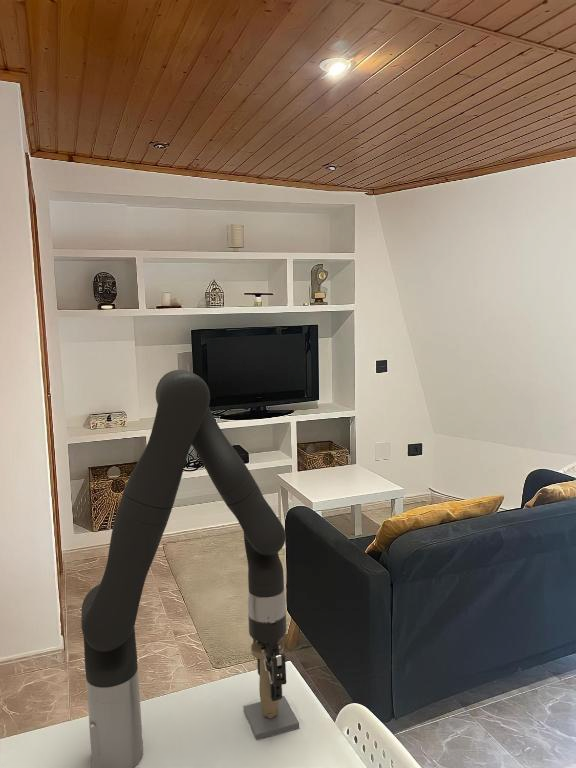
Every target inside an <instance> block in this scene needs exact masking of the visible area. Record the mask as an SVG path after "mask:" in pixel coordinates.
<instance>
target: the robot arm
mask: <svg viewBox="0 0 576 768" xmlns="http://www.w3.org/2000/svg"><path fill="white" fill-rule="evenodd" d="M155 389H156V390H155V400H156V404H157V405H156V406H157V408H156V412H155V417H154V422H153V425H152V429H151V433H150V436H149V438H148V441H147V443H146V446H145V449H144V450H143V452H142V454H141V456H140V457H139V459H138V461H137V463H136V464H135V466H134V467H133V469H132V472H131V474H130V476H129V477H128V480H127V481H126V484H125V486H124V489H123V491H122V494H121V495H122V496H121V497H120V500H119V503H118V507H117V509H116V513H115V517H114V521H113V526H112V530H111V537H110V541H109V548H108V554H107V561H106V564H105V569H104V573H103V575H102V577H101V581H100V583H99V584H97V585H96V586H94V587H93V588H91V589H90V590H89V592H88V593H87V594H86V595H85V597H84V599H83V601H82V605H81V613H80V614H81V617H80V618H81V619H80V622H81V623H80V626H81V631H82V635H83V651H84V671H85V672H84V673H85V680H86V694H87V707H88V727H89V738H90V739H89V741H90V753H91V754H90V755H91V767H92V768H135V767H136V766H138V764H139V763H140V761H141V760H142V758H143V755H144V740H143V728H142V727H143V726H142V710H141V709H142V708H141V695H140V681H139V669H138V668H139V667H138V651H137V641H136V640H137V639H136V632H135V631H136V630H135V628H136V627H135V625H136V621H137V617H138V611H139V608H140V603H141V599H142V595H143V590H144V586H145V582H146V579H147V576H148V575H149V574H148V573H149V570H150V569H151V566H152V564H153V561H154V558H155V556H156V554H157V551H158V550H159V549H158V548H159V546H160V544H161V541H162V537H163V535H164V533H165V530H166V527H167V525H168V521H169V518H170V516H171V513H172V510H173V507H174V504H175V501H176V498H177V494H178V491H179V487H180V484H181V481H182V478H183V477H182V476H183V473H184V469H185V464H186V461H187V457H188V455H189V452H190V449H191V447H193V450H194V451H195V452H196V454H197V456H198V457H199V460H200V462H201V463H202V465H203V467H204V469H205V471H206V473H207V475H208V476H209V478H210V480H211V481H212V484H213V485H214V487H215V488H216V490H217V492H218V493H219V495H220V497H221V499H222V500H223V502H224V503H225V505H226V506H227V508H228V509H229V510H230V512H231V513H232V514H233V515H234V517H235V518H236V519H237V520H236V521H238V524H239V525H240V527H241V529H242V531H243V542H244V548H245V555H246V559H247V568H248V569H247V585H248V594H247V595H248V597H247V610H248V611H247V612H248V613H247V615H248V616H247V617H248V633H249V635H250V637H251V639H252V644H253V643H254V642H256V643H257V645H263V647H260V650H261V652H262V653H265V652H266V653H267V656H265V655H263V654H262V655H263V656H264V660H263V661H264V666H265V671H267V672H268V674H269V679H270V697H271V700H272V701H276V700H280V699H281V698H282V696H283V686H284V685H286V684H287V682H288V681H287V669H286V668H287V667H286V665H287V663H286V655H285V653H284V652H283V653H282V654H281V653H280V654H279V649H280V648H281V647H280V643H278V641H279V640H280V641H281V639H282V638H283V637H285V635H286V633H287V605H286V604H287V603H286V602H287V601H286V594H285V581H284V580H285V579H284V577H285V575H284V567H283V563H282V561H281V558H280V555H279V552H280V551H281V550H282V549H283V548H284V545H285V543H286V530H285V527H284V525H283V524H282V522H281V520H280V519H279V517H278V516H277V514H275V511H274V510H273V508H272V507H271V506H270V505H269V503H268V502H267V501H266V498H265V497H264V496H263V493H262V491H261V489H260V487H259V485H258V483H257V481H256V480H255V478H254V477H253V474H252V473H251V471H250V470H249V468H248V467H247V465H246V464H245V461H244V460H243V459H242V458H241V456H240V454H239V453H238V452H237V450H236V449H235V448H234V447H233V445H232V443H231V442H230V441H229V440H228V439H227V437H226V435H225V434H224V432H223V431H222V429H221V428H220V426H219V425H218V422H217V421H216V419H215V417H214V414H213V413H212V410H211V407H210V402H211V401H210V400H211V394H210V389H209V386H208V385H207V383H206V381H204V379H203V378H201V377H200V376H199V375H197V374H195V373H194V372H191V371H189V370H184V369H175V370H171V371H168V372H166V373H165V374H164V375H163V376H162V377H161V378H160V379H159V381H158V382H157V385H156V388H155ZM256 660H257V662H256V663H257V674H258V676H259V677H260V660H259V659H258V658H256ZM268 663H272V666H269V665H268ZM277 675H278V676H277Z"/></svg>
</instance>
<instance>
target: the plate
mask: <svg viewBox="0 0 576 768" xmlns="http://www.w3.org/2000/svg"><path fill="white" fill-rule="evenodd" d="M242 708H243V713H244V716H245V719H246V720H247V722H248V724H249V725H248V726H249V727H250V729H251V731H252V734H253V737H254V738H255V740H256V741H259V740H263V739H266V738H270V737H273V736H276V735H281V734H285V733H287V732H290V731H295V730H298V729H300V722H299V719H298V718H297V717H296V714H295V713H294V711H293V709H292V707H291V705H290V704H289V702H288V700H287V698H286V697H285V695H282V698H281V699H280V700H279V705H278V715H277V716H274V717H273V718H271V719H270V718H268V717H264V716H263V712H262V711H263V709H262V706H261V701H259V702H258V701H257V702H254V703H251V704H246V705H243V707H242Z"/></svg>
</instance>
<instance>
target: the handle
mask: <svg viewBox="0 0 576 768" xmlns="http://www.w3.org/2000/svg"><path fill="white" fill-rule="evenodd" d="M278 643H280V647H281V648H280V649H279V654H280V653H281V654H282V653H284V643H283V641H282V640H281V639H280V640H279V641H278ZM260 647H263V645H257V643H256V642H254V643H253V642H252V644H251V647H250V648H251V649H250V652H251V655H252V657H254V658H255V659H257V658H258V659H259V660H260V676H259V688H258V689H259V700H260V701H259V702H261V706H262V709H263V711H262V712H263V716H264V717H268V718H270V719H271V718H273V717H274V716H277V715H278V705H279V700H276V701H272V700H271V697H270V679H269V674H268V672H267V671H265V666H264V661H263V660H264V656H263V655H265V656H267V653H266V652H265V653H262V652H261V650H260ZM262 654H263V655H262ZM268 665H269V666H272V663H268ZM277 676H279V674H278V675H277Z"/></svg>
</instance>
